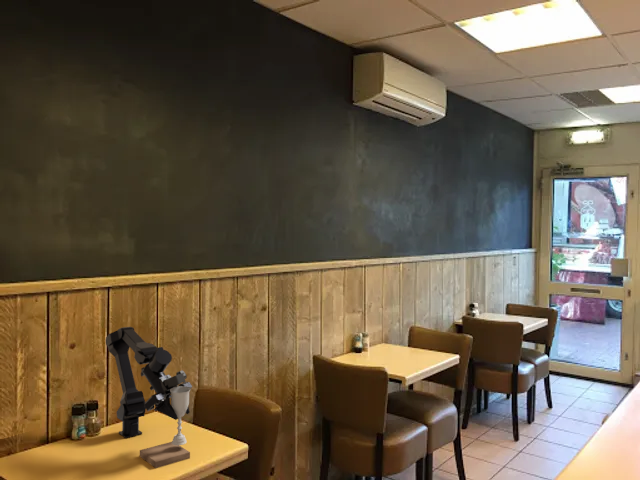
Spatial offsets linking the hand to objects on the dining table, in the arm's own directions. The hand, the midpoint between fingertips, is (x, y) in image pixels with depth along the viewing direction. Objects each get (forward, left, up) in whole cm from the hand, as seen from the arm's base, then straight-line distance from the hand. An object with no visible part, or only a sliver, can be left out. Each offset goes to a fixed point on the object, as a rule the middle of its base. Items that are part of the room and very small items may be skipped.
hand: (182, 416), depth 184 cm
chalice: (-1, 0, -9) cm, 9 cm away
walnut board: (-2, -5, -13) cm, 14 cm away
